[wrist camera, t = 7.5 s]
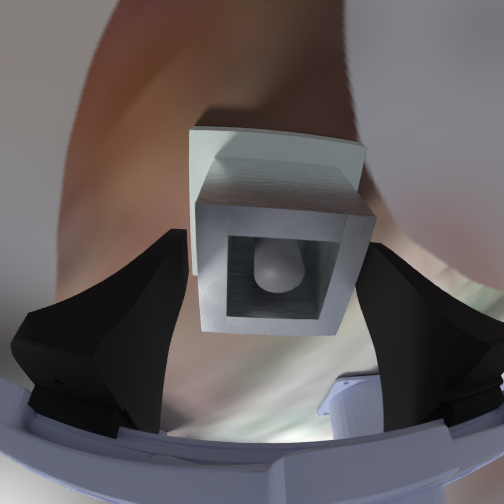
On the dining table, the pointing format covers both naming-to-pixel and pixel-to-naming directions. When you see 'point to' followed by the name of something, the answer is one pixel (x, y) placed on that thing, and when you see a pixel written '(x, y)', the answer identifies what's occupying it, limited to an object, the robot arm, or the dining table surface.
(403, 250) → the dining table surface
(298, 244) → the post stand
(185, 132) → the dining table surface
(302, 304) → the steel collar
